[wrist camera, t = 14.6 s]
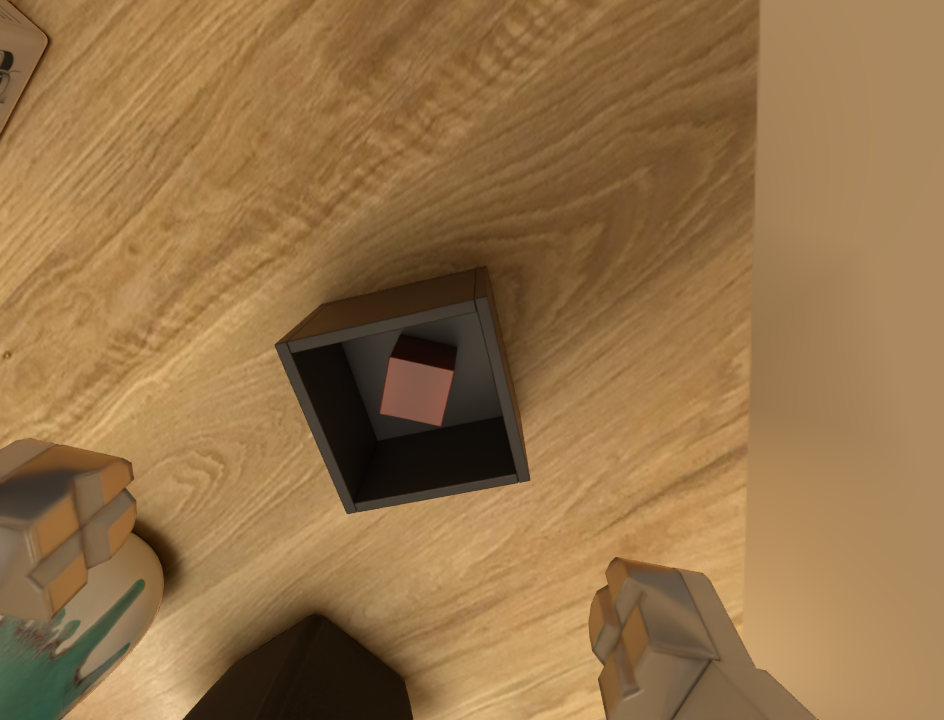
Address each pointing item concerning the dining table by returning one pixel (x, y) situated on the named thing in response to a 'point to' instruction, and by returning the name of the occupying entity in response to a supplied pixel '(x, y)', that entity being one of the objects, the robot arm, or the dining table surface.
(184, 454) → the dining table surface
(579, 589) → the dining table surface
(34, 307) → the dining table surface
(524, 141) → the dining table surface
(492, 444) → the basket
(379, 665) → the flower pot
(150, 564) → the vase
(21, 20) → the container
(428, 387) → the block
